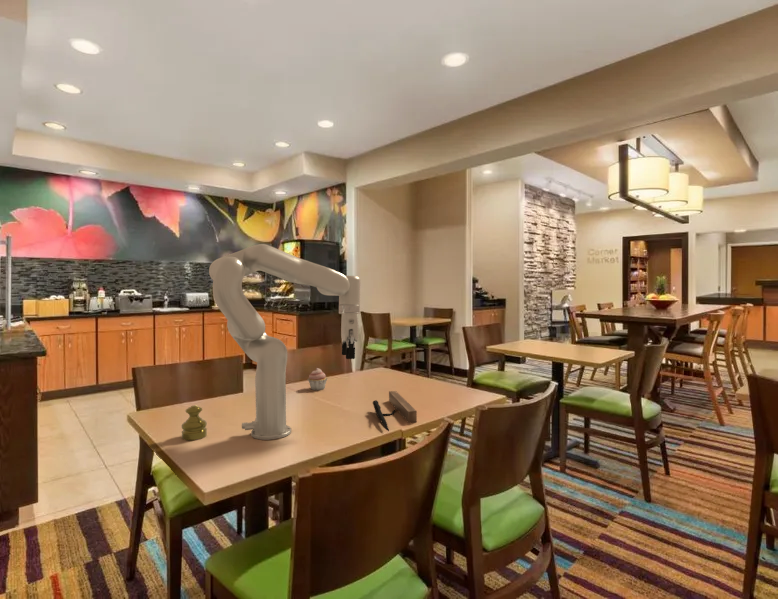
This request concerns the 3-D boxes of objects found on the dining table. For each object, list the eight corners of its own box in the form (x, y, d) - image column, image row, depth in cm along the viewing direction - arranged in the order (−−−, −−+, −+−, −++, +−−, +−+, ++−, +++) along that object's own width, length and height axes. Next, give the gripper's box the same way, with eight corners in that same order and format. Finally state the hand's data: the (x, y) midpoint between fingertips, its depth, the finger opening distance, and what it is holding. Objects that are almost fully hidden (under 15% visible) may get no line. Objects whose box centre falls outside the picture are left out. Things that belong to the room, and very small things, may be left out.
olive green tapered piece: (181, 442, 137) (180, 410, 137) (182, 434, 144) (181, 404, 144) (207, 438, 140) (206, 407, 140) (206, 431, 147) (206, 401, 147)
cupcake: (308, 387, 211) (307, 366, 210) (327, 386, 212) (327, 365, 211) (306, 391, 201) (306, 369, 201) (327, 391, 202) (327, 369, 202)
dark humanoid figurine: (405, 410, 147) (391, 388, 171) (381, 419, 146) (369, 396, 170) (412, 432, 148) (396, 407, 173) (388, 441, 147) (375, 415, 171)
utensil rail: (408, 422, 155) (408, 411, 155) (389, 400, 184) (388, 391, 184) (416, 422, 156) (416, 410, 156) (396, 400, 185) (395, 391, 185)
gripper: (363, 310, 153) (362, 360, 153) (355, 309, 170) (354, 353, 170) (342, 310, 151) (341, 360, 151) (335, 308, 168) (334, 353, 168)
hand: (348, 356), depth 161 cm, fingers open, 9 cm apart
